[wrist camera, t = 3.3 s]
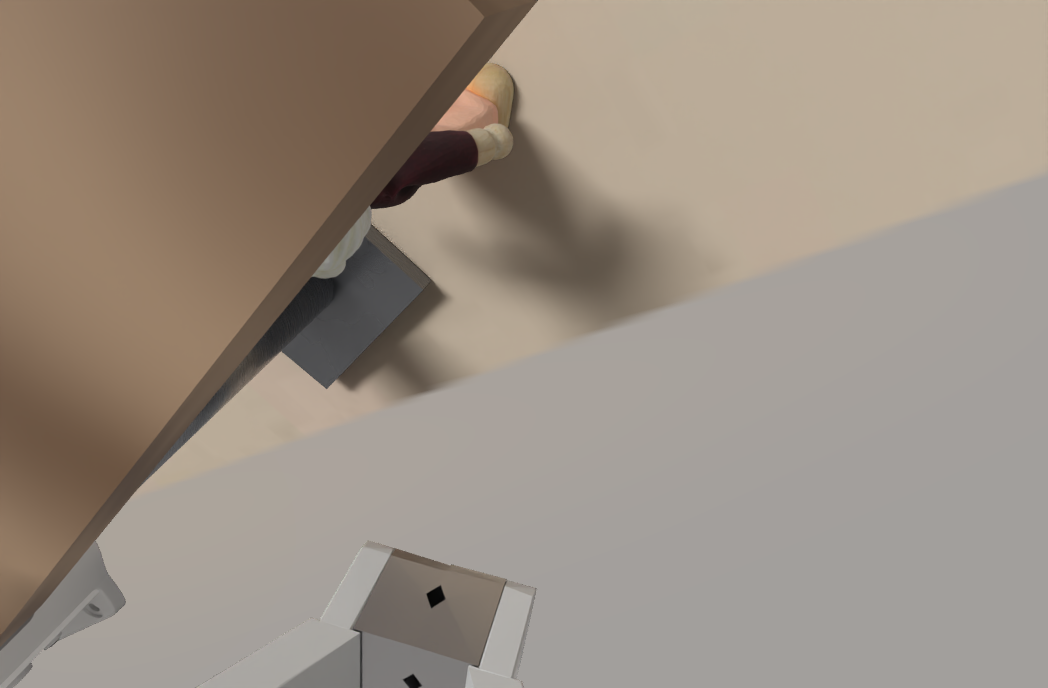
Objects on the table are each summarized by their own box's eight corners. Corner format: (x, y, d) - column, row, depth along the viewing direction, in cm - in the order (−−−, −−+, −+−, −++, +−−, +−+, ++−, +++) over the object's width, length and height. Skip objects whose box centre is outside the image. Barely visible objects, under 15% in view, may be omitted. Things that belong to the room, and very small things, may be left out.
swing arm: (8, 647, 17) (-83, 739, 15) (-133, 553, 17) (-249, 638, 15) (542, -2, 7) (476, 19, 5) (232, -338, 6) (4, -473, 4)
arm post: (336, 377, 33) (60, 702, 19) (204, 266, 32) (-205, 529, 17) (431, 280, 29) (171, 598, 15) (285, 146, 28) (-160, 361, 13)
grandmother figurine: (516, 15, 23) (357, 76, 13) (557, 122, 25) (446, 257, 14) (340, 100, 26) (90, 206, 15) (386, 190, 28) (187, 345, 17)
